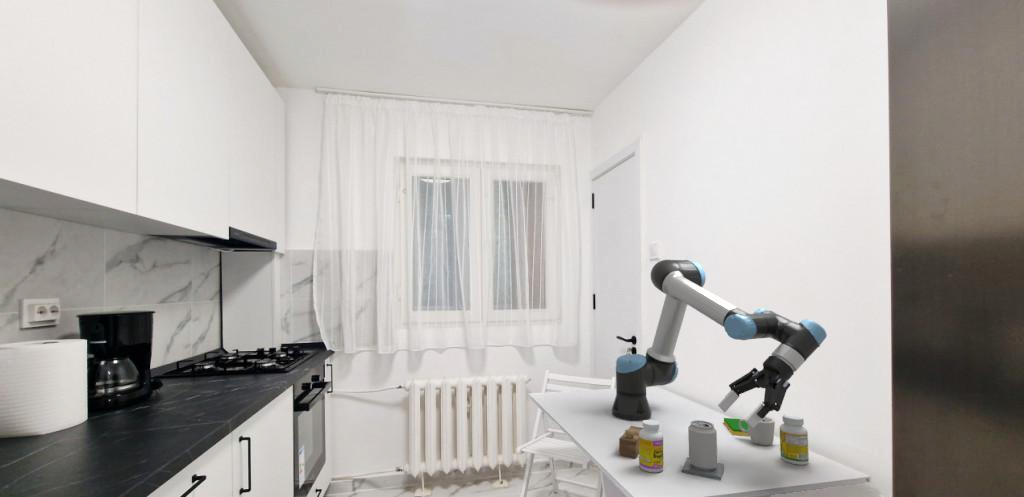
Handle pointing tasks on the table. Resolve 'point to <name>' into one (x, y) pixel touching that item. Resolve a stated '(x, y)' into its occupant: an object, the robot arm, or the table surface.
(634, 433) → the walnut block
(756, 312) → the robot arm
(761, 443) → the cup
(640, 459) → the supplement bottle
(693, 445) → the can
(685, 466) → the trivet
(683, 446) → the table surface
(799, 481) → the table surface
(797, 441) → the supplement bottle
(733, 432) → the dish sponge
